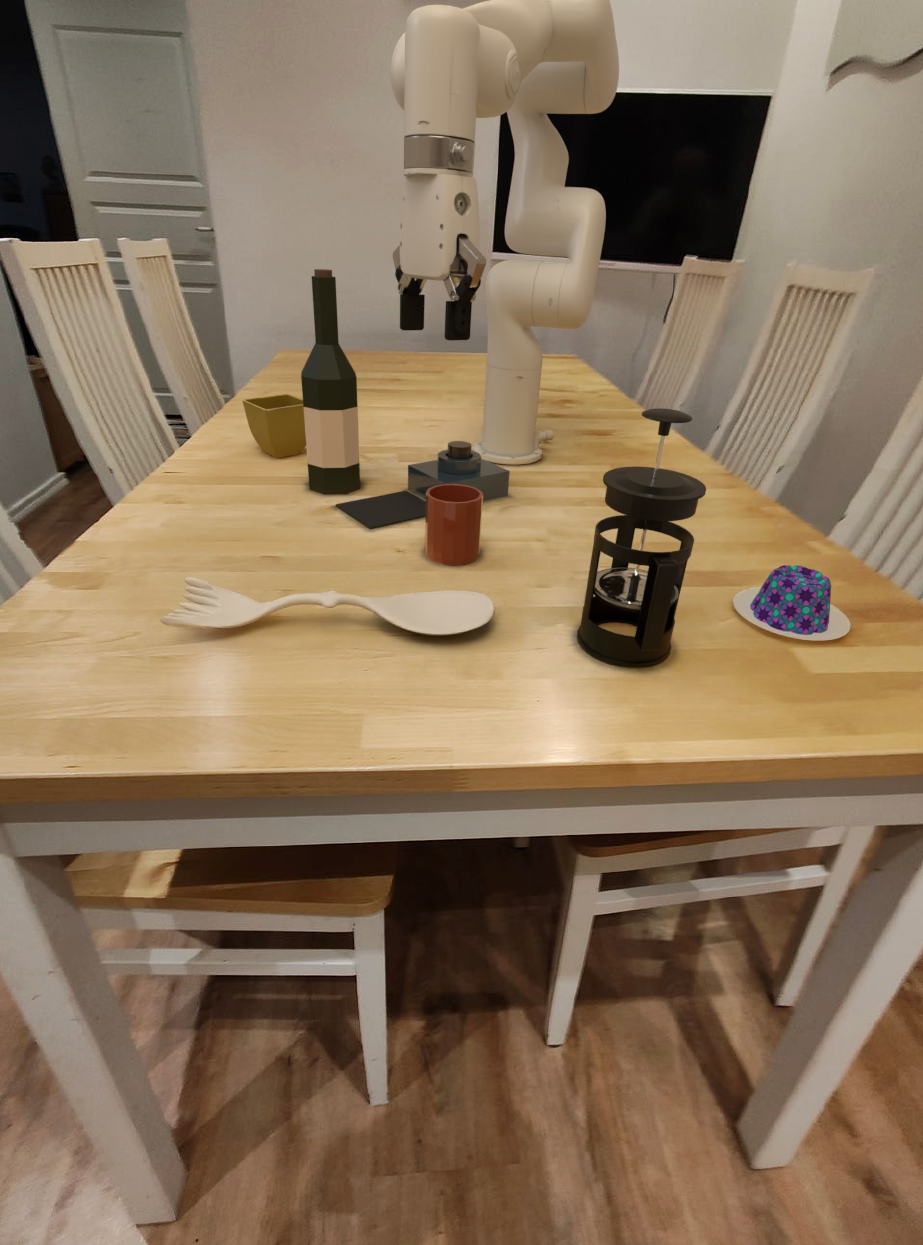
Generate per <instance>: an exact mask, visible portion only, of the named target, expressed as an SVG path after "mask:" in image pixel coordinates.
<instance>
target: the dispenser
mask: <svg viewBox="0 0 923 1245" xmlns="http://www.w3.org/2000/svg"><path fill="white" fill-rule="evenodd" d="M447 452H448V449H444V450H440V451H439V452H438V453H437V454H436V455H437V457H436V458H437V459H435V460H428V461H423V462H418V463H411V464H408V465H407V491H408V492H410V493H412V494H414V495H417V497H419V498H421V499H423V500H426V492H427V490H428V489H429V488H431V487H433V486H437V485H442V484H461V485H467V486H471V487H475V488H477V489H479V490H480V491H481V492H482V493H483V502H486V501H490V500H496V499H500V498H504V497H508V496H509V485H510V474H511V473H510V472H511V470H508V469H506V468H504V467H502V466H499V465H497V464H495V463H492V462H488V461H485V460H483V459H481V455H480V454H479V453H477V452H475V451H473V450H471V458H468V459H453V458H449V457H447Z"/></svg>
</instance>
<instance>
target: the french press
mask: <svg viewBox="0 0 923 1245" xmlns="http://www.w3.org/2000/svg"><path fill="white" fill-rule="evenodd" d="M641 416H642V417H643V418H645V419H647V420H650V421H654V422H659V424H658V431H657V435H658V436H660V439H659V443H658V449H657V453H656V454H657V455H656V460H655V465H654V467H652V466H621V467H616V468H613V469H610V470H608V471H606V472H605V473H604V474H603V476H602V482H603V484H604V485H605V487H606V489H605V495H604V503H605V504H606V506H608V507H609V508H610V509H611V510H613V511H615V512H617V513H619V514H620V515H612V516H609V517H605V518H602V519H601V520H599V521H598V522H597V523H596V524H595V528H594V533H593V534H594V535H593V544H592V549H591V550H592V551H591V557H590V564H589V568H588V576H587V583H586V589H585V597H584V602H583V607H582V613H581V620H580V624H579V626H578V629H577V631H576V641H577V643H578V645H579V647H580V648H581V649H582V650H583V651H584V652H585V653H586V654H587V655H589V656H591V657H592V658H594V659H596V660H598V661H600V662H602V663H605V664H608V665H610V666H611V665H612V666H616V667H619V668H627V669H628V668H629V669H645V668H651V667H654V666H657V665H660V664H662V663H663V662H665V661H666V660H668V658H669V657H670V655H671V651H672V638H673V634H674V628H675V625H676V620H675V616H676V613H677V607H678V604H679V599H680V595H681V590H682V586H683V581H684V578H685V573H686V569H687V565H688V560H689V559H690V558H691V556H692V552H693V548H694V544H695V538H694V535H693V534H692V533H691V531H689V530H688V529H686V528H685V527H683V526H681V525H680V524H677V523H675V522H677V521H683V520H687V519H689V518H692V517H693V516H695V515H696V512H697V507H698V504H699V500H700V499H702V498H703V497H705V495H706V492H707V487H706V485H705V484H704V483H703V482H702V481H701V480H700V479H698V478H696V477H693V476H691V475H688V474H686V473H682V472H680V471H675V470H671V469H666V468H660V464H661V459H662V453H663V449H664V443H665V438H666V437H668V436H669V435H670V432H671V428H672V424H687V423H691V422H692V421H693V417H692V416H691V415H690V414H688V413H686V412H683V411H681V410H677V409H672V408H660V407H659V408H650V409H646V410H643V411H642V412H641ZM636 529H638V530H642V531H641V532H642V533H641V538H640V543H639V547H638V548H639V549H636V548H635V549H634V548H632V547H633V542H634V538H635V532H636ZM611 530H617V532H616V537H615V543H614V542H613V541H611V540H608V539H607V538H606V537H604V536H603V535H602V533H605V532H606V531H611ZM647 531H651V532H656V533H661V534H663V535H666V536H669V537H671V538H674V539H675V540H677V541H679V542H680V544H679V549H677V550H671V551H648V550H644V546H645V541H646V535H647ZM601 553H603V554H604V555H606V556H608V557H610V558H612V561H611V566H610V567H609V568H605V569H601V570H599V564H600V558H601ZM629 564H631V565H632V564H633V565H635V567H634V568H633V567H629ZM641 566H645V567H648V569H647V570H645V569H641ZM598 570H599V571H598ZM607 624H626V625H630V626H634V627H635V632H634V636H633V635H626V634H621V633H617V632H614V631H611V630H608V629H606V628H603V627H601V625H607Z"/></svg>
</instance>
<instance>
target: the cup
mask: <svg viewBox="0 0 923 1245" xmlns="http://www.w3.org/2000/svg"><path fill="white" fill-rule="evenodd" d="M425 501H426V517H424V518H425V519H424V520H425V525H424V526H425V527H424V528H425V529H424V552H425V556H426V557H427V558H428V559H429V560H430V561H433V562H434V563H437V564H441V565H446V566H463V565H469V564H471V563H473V562H475V561H477V560H478V559H479V557H480V551H481V538H482V537H481V536H482V521H483V520H482V519H483V505H484V503H483V502H484V501H483V493H482V492H481V491H480V490H479V489H477V488H475V487H471V486H467V485H461V484H442V485H437V486H433V487H431V488H429V489H428V490H427V492H426V499H425Z"/></svg>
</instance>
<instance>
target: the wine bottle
mask: <svg viewBox="0 0 923 1245" xmlns="http://www.w3.org/2000/svg"><path fill="white" fill-rule="evenodd" d="M313 271H314V275H311V290H312V292H311V293H312V309H313V322H314V336H315V338H314V339H315V343H314V345H313V346H312V349H311V351H310V353H309V355H308V357H307V360H306V361H305V364H304V366H303V368H302V370H301V374H300V380H301V393H302V399H303V408H304V421H305V435H306V446H305V448H306V460H307V472H308V474H307V475H308V487H309V491H311V492H315V493H317V494H320V495H324V496H329V495H330V496H331V495H333V496H334V495H348V494H351V493H353V492H357V491H359V490H361V467H360V466H361V465H360V439H359V412H358V411H359V408H358V383H357V382H358V378H357V374H356V371H355V370H354V368H353V366H352V364H351V362H350V360H349V359H348V357H347V356H346V353H345V352H344V350H343V349H342V347H341V345H340V343H339V325H338V324H339V323H338V321H339V320H338V304H337V303H338V301H337V300H338V299H337V298H338V297H337V282H336V281H337V279H336V276H333V269H327V268H325V269H324V268H315V269H314V270H313Z"/></svg>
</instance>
